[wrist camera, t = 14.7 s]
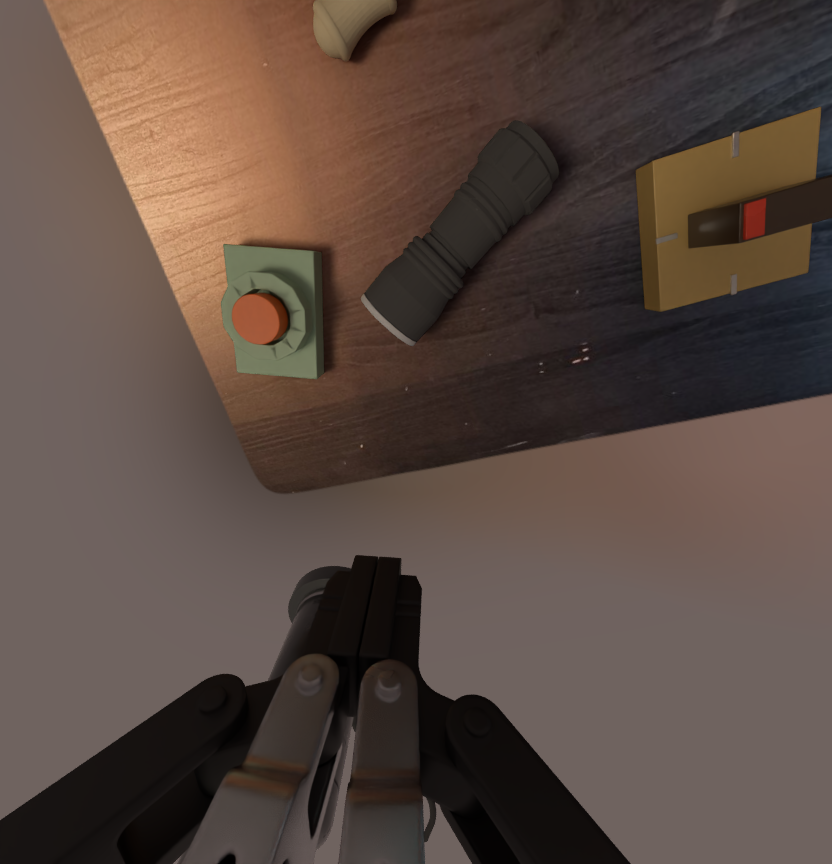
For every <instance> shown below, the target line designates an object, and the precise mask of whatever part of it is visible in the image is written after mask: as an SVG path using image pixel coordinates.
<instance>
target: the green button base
mask: <svg viewBox="0 0 832 864" xmlns="http://www.w3.org/2000/svg"><path fill="white" fill-rule="evenodd" d="M223 246H224V256H225V265H226V274H227V283H228V287H227V290H226V292H225V294H224V296H223V299H222V301H221V309H222V317H223V325H224V328H225V330H226V331H227V333H228V334H229V336H230V337H231V339H232V340H233V342H234V347H235V357H236V366H237V372H239V373H251V374H262V375H274V376H286V377H298V378H309V379H318V378H319V377H320V376H321V375H322V374H324V343H323V295H322V253H321V252H317V251H309V250H296V249H282V248H269V247H256V246H243V245H230V244H223ZM255 293H267V294H270V295H272V296H274V297H275V298H277V299H278V300H279V301H280V302H281V303H282V304H283V306H284V308H285V310H286V312H287V316H288V326H287V329H286V331H285V333H284V334H283V335H282V336H281V337H280V338H279V339H277V340H274V341H272V342H269V343H267V344H262V345H258V344H253V343H250V342H248V341H246V340H245V339H244V338H242V337H241V336H240V335H239V334H238V332H237V331H236V329H235V327H234V325H233V321H232V309H233V306H234V304H235V302H236V301H237V300H238V299H239V298H240V297H242V296H244V295H247V294H255Z"/></svg>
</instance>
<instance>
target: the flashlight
mask: <svg viewBox="0 0 832 864" xmlns="http://www.w3.org/2000/svg"><path fill="white" fill-rule="evenodd" d="M558 175H559V169H558V165H557V162H556V160H555V158H554V156H553V154H552V152H551V151H550V149H549V147H548V146H547V145H546V143H545V142H544V141H543V140H542V138H541V137H540V136H539V135H538V134H537V133H536V132H535V131H534V130H533V129H532V128H530V127H529V126H528V125H526V124H525V123H523V122H521V121H516V120H515V121H512V122H511V123H510V124H509V126H508V127H507V128H503V129H499V130H498V132H497V133H496V134H495V135H494V137H493V138H492V139H491V140H490V141H489V143H488V144H487V145H486V146H485V148H484V149H483V150H482V151H481V153H480V154H479V155H478V164H477V165H476V166H475V167H474V169H473V170H472V171H471V172H470V173H469V175H468V181H467V182H465V183H462V184H461V187H460V189H459V190H456V192H455V194H454V198H453V199H452V200H451V201H450V202H449V204H448V205H447V206H446V207H445V209H444V210H443V211H442V212H441V213H440V215H439V216H438V217H437V218H436V220H435V221H434V222H433V223H432V225H431V226H430V228H431V230H432V231H431V232H430V234H429V233H426V235H425V236H424V237H423V238H422V239H421V238H420V237H418V236H415V237H414V238H413V242H410V243H409V244H408V248H405V249H404V250H403V254H402V255H401V256H399V257H398V258H397V259H395V260H394V261H393V262H391V263H390V264H389V265H387V266H386V267H385V268H384V269H383V271H382V272H381V273H380V274H379V276H378V277H377V278H376V279H375V281H374V282H373V283H372V284H371V286H370V287H369V288H368V289H367V291H366V292H365V293H364V294H363V295H362V297H361V300H362V302H363V304H364V305H365V306H366V308H367V309H368V310H369V311H370V312H371V313H372V315H373V316H374V317H375V318H376V319H377V320H378V321H379V322H380V323H381V324H383V325H384V326H385V327H386V328H387V329H388V330H389V331H390V332H391V333H392V334H394V335H395V336H396V337H398V338H399V339H400V340H402V341H403V342H405V343H406V344H408V345H410V346H414V344H415V343H416V342H417V341H418V340H419V339H420V338H421V337H422V336H423V334H424V333H425V332H426V331H427V330H428V329H429V328H430V327H431V326H432V325H433V323H434V322H435V321H436V320H437V319H438V318H439V316H440V314H441V312H442V311H443V309H444V307H445V305H446V303H447V302H448V300H449V299H452V298H453V296H454V294H455V293H458V289H459V288H462V287H463V281H462V280H461V278H462V277H463V276H464V274H465V273H466V271H465V270H466V269H467V268H469V269H472V268H473V267H474V266H475V265H476V264H477V262H478V261H479V260H480V259H481V258H482V257H483V256H484V255H485V254H486V252H487V251H488V250H489V249H490V248H491V247H492V246H493V245H494V244H495V242H498V241H500V240H501V238H502V235H505V234H506V233H507V231H508V228H509V227H510V226H514V225H515V224H516V223H517V222H518V221H519V220H520V219H521V218H522V216H523V215H530V214H531V213H532V212H533V211H534V210H535V209H536V208H537V206H538V205H539V204H540V203H541V202H542V201H543V200H544V199H545V198H546V197H547V195H548V194H549V193H550V192H551V189H552V183H553V182H554V181H555V180H556V179H557V177H558Z"/></svg>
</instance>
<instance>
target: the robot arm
mask: <svg viewBox="0 0 832 864" xmlns="http://www.w3.org/2000/svg"><path fill="white" fill-rule="evenodd" d="M421 595H422V588H421V586H420V584H419V581H418V579H417V577H416V576H410V575H409V576H408V575H401V558H391V557H379V560H378V557H376V556H362V555H356V556H355V558H354V562H353V565H352V568H351V571H337V572H336V573H335V574H334V575H333V576H332V577H331V578H330V579H329V580H328V581H327V584H326V586H325V588H320V589H317V590H314V591H312V592H310V593H308V594H307V595H306V596H305V597H304V598H303V599H302V600H301V602H300V604H299V607H298V609H297V612H296V616H295V618H294V621H293V623H292V625H291V628H290V630H289V632H288V634H287V637H286V639H285V642H284V644H283V646H282V648H281V651H280V653H279V656H278V658H277V661H276V663H275V665H274V667H273V670H272V672H271V675H270V678H269V680H268V681H266V682H262V683H258V684H254V685H250V686H246V687H245V685H244V683H243V681H242V680H241V679H240V678H239V677H237V676H235V675H232V674H220V675H216V676H213V677H210V678H208V679H206V680H204V681H203V682H201V683H199V684H198V685H197V686H195V687H194V688H192V689H191V690H189V691H188V692H186V693H185V694H183V695H182V696H181V697H179V698H178V699H176V700H175V701H173V702H172V703H170V704H169V705H168V706H166V707H164V708H163V709H162V710H160V711H159V712H157V713H156V714H154V715H153V716H151V717H150V718H148V719H147V720H146V721H144V722H143V723H141V724H140V725H138V726H137V727H135V728H134V729H132V730H131V731H130V732H128V733H127V734H125V735H124V736H122V737H121V738H119V739H118V740H116V741H115V742H114V743H112V744H111V745H109V746H108V747H106V748H105V749H103V750H102V751H101V752H99V753H98V754H96V755H95V756H93V757H92V758H90V759H89V760H87V761H86V762H84V763H83V764H81V765H80V766H79V767H77V768H76V769H74V770H73V771H71V772H70V773H68V774H67V775H65V776H64V777H62V778H61V779H60V780H58V781H57V782H55V783H54V784H52V785H51V786H49V787H48V788H46V789H45V790H44V791H42V792H41V793H39V794H38V795H36V796H35V797H33V798H32V799H30V800H29V801H28V802H26V803H25V804H23V805H22V806H20V807H19V808H17V809H16V810H15V811H13V812H12V813H10V814H9V815H7V816H6V817H5V818H3V819H1V820H0V864H173V863H174V862H175V861H176V860H177V859H178V858H179V857H180V856H181V857H180V859H179V861H178V863H177V864H314V857H315V852H316V850H317V849H318V848H319V847H320V846H322V845H323V844H324V842H325V841H326V839H327V838H328V836H329V834H330V831H331V828H332V825H333V821H334V816H335V811H336V806H337V800H338V794H339V789H340V784H341V779H342V774H343V769H344V764H345V758H346V753H347V747H348V742H349V737H350V732H351V727H352V726H353V729H354V731H355V732H356V734H355V743H354V752H353V762H352V770H351V778H350V782H349V783H348V788H347V794H346V802H345V810H344V818H343V827H342V836H341V845H340V854H339V862H338V864H425V852H424V851H425V850H424V842H427V841H428V838H429V836H430V834H431V831H432V829H433V827H434V824H435V820H436V807H435V802H436V803H438V804H439V805H440V807H441V810H442V812H443V814H444V816H445V818H446V820H447V821H448V823H449V824H450V826H451V828H452V830H453V832H454V833H455V835H456V837H457V838H458V840H459V842H460V843H461V845H462V847H463V848H464V850H465V852H466V854H467V855H468V857H469V859H470V860H471V862H472V864H630V862H629V861H628V860H627V859H626V858H625V857H624V855H623V854H622V853H621V852H620V851H619V850H618V848H617V847H616V846H615V845H614V844H613V842H612V841H611V840H610V839H609V838H608V837H607V835H606V834H605V833H604V832H603V831H602V829H601V828H600V827H599V826H598V825H597V824H596V822H595V821H594V820H593V819H592V818H591V816H590V815H589V814H588V813H587V812H586V811H585V809H584V808H583V807H582V806H581V805H580V804H579V802H578V801H577V800H576V799H575V798H574V796H573V795H572V794H571V793H570V792H569V791H568V789H567V788H566V787H565V786H564V785H563V783H562V782H561V781H560V780H559V779H558V778H557V776H556V775H555V774H554V773H553V772H552V771H551V769H550V768H549V767H548V766H547V765H546V763H545V762H544V761H543V760H542V759H541V758H540V756H539V755H538V754H537V753H536V752H535V751H534V749H533V748H532V747H531V746H530V745H529V743H528V742H527V741H526V740H525V739H524V738H523V736H522V735H521V734H520V733H519V732H518V731H517V729H516V728H515V727H514V726H513V725H512V723H511V722H510V721H509V720H508V719H507V718H506V716H505V715H504V714H503V713H502V712H501V710H500V709H499V708H498V707H497V706H496V705H495V704H494V703H493V702H491V701H490V700H488V699H487V698H485V697H482V696H479V695H465V696H462V697H460V698H458V699H457V700H455V701H454V700H452V699H449V698H447V697H445V696H442V695H440V694H439V693H437V692H435V691H434V690H432V689H431V688H430V687H429V686H428V685H427V684H426V683H425V681H424V680H423V678H422V676H421V674H420V671H419V666H418V659H419V637H420V616H421V615H420V614H421ZM423 796H425V797H426V798H427V800H428V803H429V807H430V819H429V822H428V825H427V827H426V829H425V831H424V823H423V822H424V820H423Z"/></svg>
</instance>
